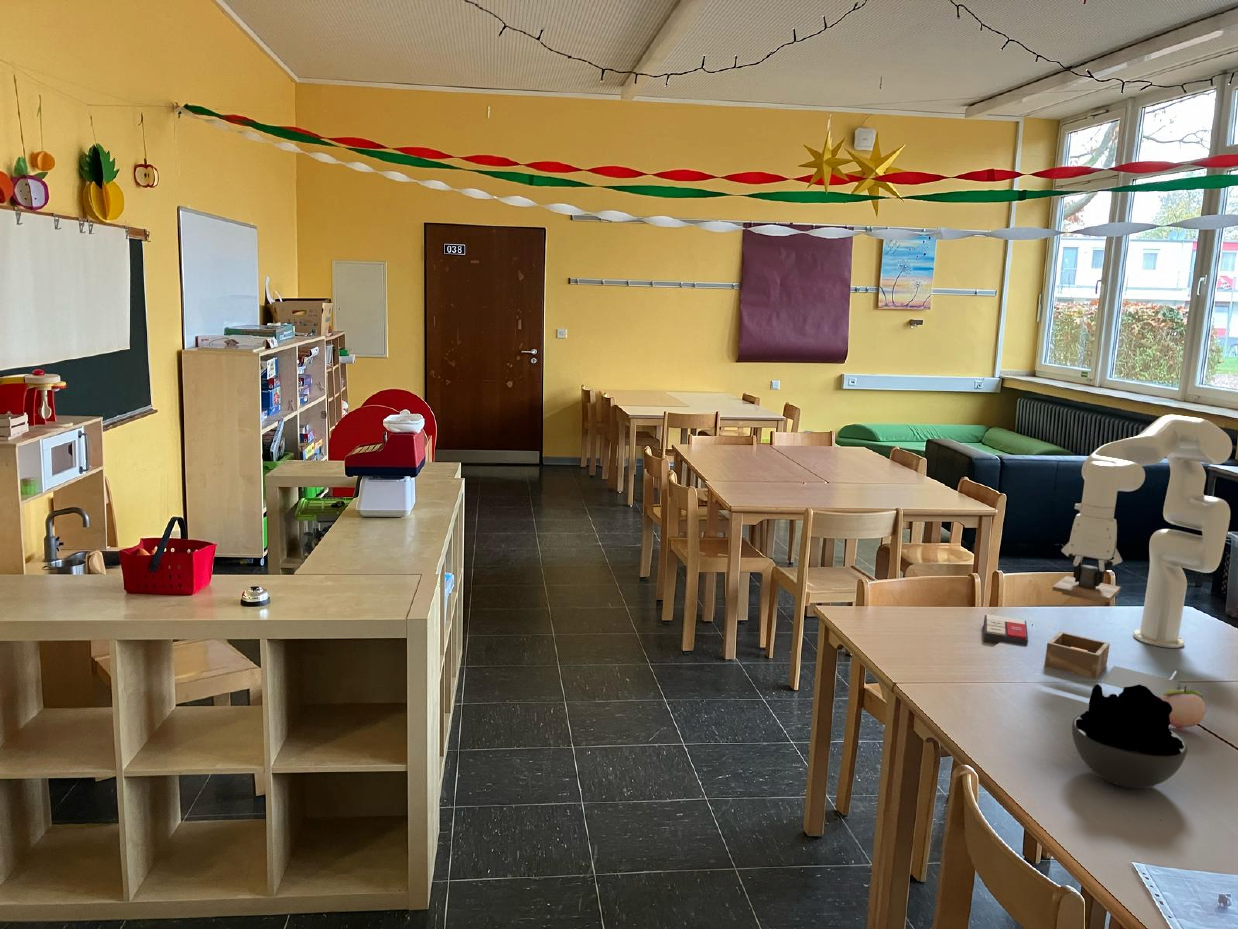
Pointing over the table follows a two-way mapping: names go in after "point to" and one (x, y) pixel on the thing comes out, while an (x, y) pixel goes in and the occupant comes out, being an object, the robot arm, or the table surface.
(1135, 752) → the coal bowl
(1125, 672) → the mat
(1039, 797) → the table surface
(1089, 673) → the storage box
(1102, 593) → the lid
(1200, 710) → the decorative fruit
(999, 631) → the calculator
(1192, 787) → the table surface
